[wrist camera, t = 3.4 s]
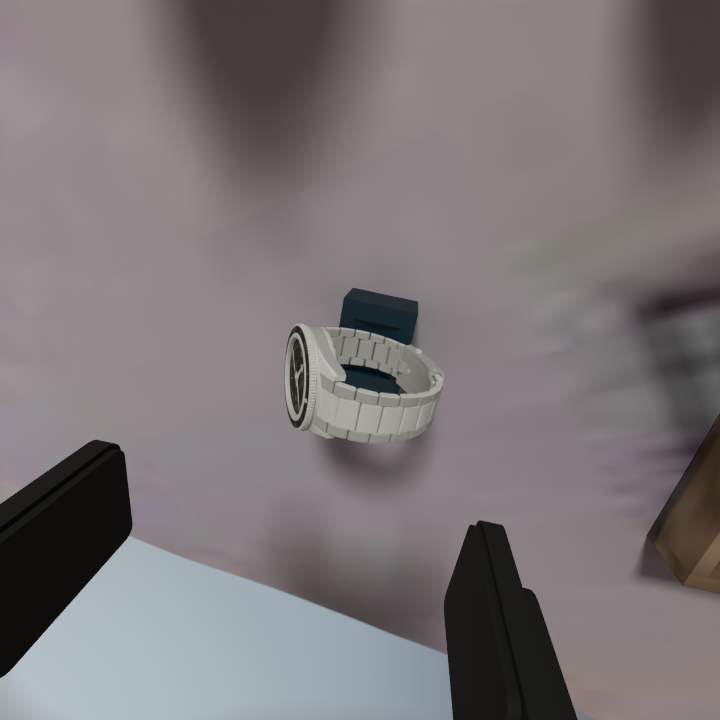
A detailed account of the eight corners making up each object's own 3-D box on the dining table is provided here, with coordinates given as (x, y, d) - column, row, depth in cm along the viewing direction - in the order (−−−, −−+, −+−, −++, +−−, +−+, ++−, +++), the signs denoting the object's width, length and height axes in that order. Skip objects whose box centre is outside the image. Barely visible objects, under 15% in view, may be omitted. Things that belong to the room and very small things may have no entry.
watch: (323, 281, 24) (255, 328, 14) (445, 307, 24) (465, 376, 13) (312, 359, 26) (246, 448, 16) (423, 384, 26) (427, 493, 16)
